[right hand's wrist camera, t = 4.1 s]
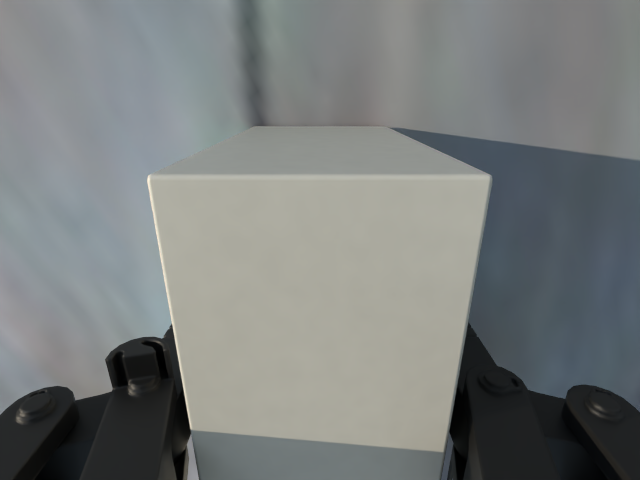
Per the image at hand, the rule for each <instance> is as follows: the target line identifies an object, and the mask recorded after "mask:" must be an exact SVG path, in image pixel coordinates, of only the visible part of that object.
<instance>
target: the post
mask: <svg viewBox="0 0 640 480" xmlns="http://www.w3.org/2000/svg"><path fill="white" fill-rule="evenodd" d="M492 181H493V180H492V175H490V174H488V173H486V172H483V171H481V170H479V169H477V168H475V167H473V166H470V165H468V164H466V163H464V162H462V161H460V160H457V159H455V158H453V157H451V156H449V155H447V154H444V153H442V152H440V151H438V150H436V149H434V148H431V147H429V146H427V145H425V144H423V143H421V142H418V141H416V140H414V139H412V138H410V137H408V136H405V135H403V134H401V133H399V132H397V131H394V130H392V129H390V128H388V127H386V126H255V127H252V128H250V129H248V130H246V131H244V132H241V133H239V134H237V135H235V136H233V137H231V138H228V139H226V140H224V141H222V142H220V143H218V144H215V145H213V146H211V147H209V148H207V149H204V150H202V151H200V152H198V153H196V154H194V155H191V156H189V157H187V158H185V159H183V160H181V161H178V162H176V163H174V164H172V165H170V166H168V167H165V168H163V169H161V170H159V171H157V172H154V173H152V174H150V175H148V179H147V182H148V188H149V193H150V199H151V205H152V211H153V216H154V222H155V228H156V234H157V240H158V245H159V251H160V257H161V263H162V268H163V274H164V280H165V286H166V291H167V297H168V303H169V309H170V314H171V320H172V326H173V332H174V337H175V343H176V349H177V355H178V360H179V366H180V372H181V378H182V383H183V389H184V395H185V401H186V406H187V412H188V418H189V424H190V429H191V435H192V441H193V447H194V452H195V458H196V464H197V470H198V475H199V480H441V476H442V470H443V464H444V459H445V453H446V447H447V441H448V435H449V430H450V424H451V418H452V412H453V407H454V401H455V395H456V389H457V383H458V378H459V372H460V366H461V360H462V354H463V349H464V343H465V337H466V331H467V326H468V320H469V314H470V308H471V302H472V297H473V291H474V285H475V279H476V274H477V268H478V262H479V256H480V250H481V245H482V239H483V233H484V227H485V222H486V216H487V210H488V204H489V198H490V193H491V187H492Z"/></svg>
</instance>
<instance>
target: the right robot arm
mask: <svg viewBox="0 0 640 480" xmlns="http://www.w3.org/2000/svg"><path fill="white" fill-rule="evenodd" d="M105 360H106V364H107V368H108V372H109V376H110V379H111V383H112V387H113V390H112V392H109V393H105V394H102V395H98V396H93V397H89V398H85V399H80V400H76V401H75V398H74V394H73V392H72V391H71V390H70V389H68V388H67V387H61V386H54V387H47V388H43V389H40V390H37V391H34V392H31V393H29V394H27V395H26V396H24V397H22V398H20V399H18V400H17V401H16V402H14V403H13V404H12V405H11V406H9V407H8V408H7V409H6V410H5V411H4V412H3V413H2V414H1V415H0V480H187V475H188V463H189V456H188V450H187V442H188V440H189V437H190V435H191V429H190V424H189V418H188V412H187V406H186V401H185V395H184V389H183V383H182V378H181V372H180V366H179V360H178V355H177V349H176V343H175V337H174V332H173V326H172V324H171V326H170V329H168V330H167V332H166V334H165V335H164V338H162V339H161V338H157V337H142V338H138V339H134V340H130V341H128V342H126V343H124V344H121V345H120V346H118V347H117V348H115V349H114V350H113V351H111V352H110V354H109V355H108V356H107V358H106V359H105ZM449 432H450V435H451V437H452V440H453V443H454V444H453V449H452V455H451V460H450V466H449V471H448V478H447V480H452V478H453V480H640V412H639V411H638V410H637V409H636V408H635V407H633V406H632V405H631V404H630V403H628V402H627V401H626V400H625V399H623V398H622V397H620V396H618V395H616V394H614V393H612V392H611V391H608V390H605V389H602V388H599V387H596V386H590V385H577V386H573V387H572V388H571V389H569V390H568V392H567V395H566V399H562V398H558V397H553V396H549V395H545V394H540V393H537V392H533V391H530V390H528V389H527V387H526V386H525V384H524V383H523V381H522V380H521V379H520V378H519V377H517V376H516V375H515V374H514V373H512V372H510V371H508V370H506V369H504V368H502V367H498V366H497V365H496V364H495V362H494V361H493V359H492V358H491V356H490V354H489V353H488V351H487V350H486V348H485V347H484V345H483V344H482V342H481V341H480V339H479V338H478V337H477V335H476V333H475V332H474V330H473V329H472V328H471V325H470V324H469V322H468V326H467V331H466V337H465V343H464V349H463V354H462V360H461V366H460V372H459V378H458V383H457V389H456V395H455V401H454V407H453V412H452V418H451V424H450V430H449Z"/></svg>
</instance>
